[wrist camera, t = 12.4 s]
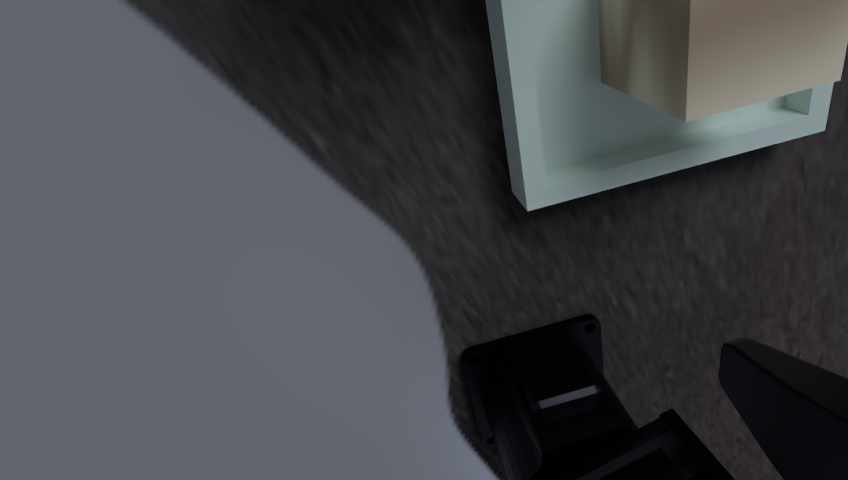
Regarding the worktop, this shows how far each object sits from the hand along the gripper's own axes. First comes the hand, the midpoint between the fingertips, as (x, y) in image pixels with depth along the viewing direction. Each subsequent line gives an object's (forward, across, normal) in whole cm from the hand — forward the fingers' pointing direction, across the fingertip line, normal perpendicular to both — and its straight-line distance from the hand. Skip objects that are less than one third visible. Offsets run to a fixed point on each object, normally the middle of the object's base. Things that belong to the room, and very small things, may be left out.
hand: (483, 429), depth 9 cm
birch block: (+11, -10, -4) cm, 16 cm away
